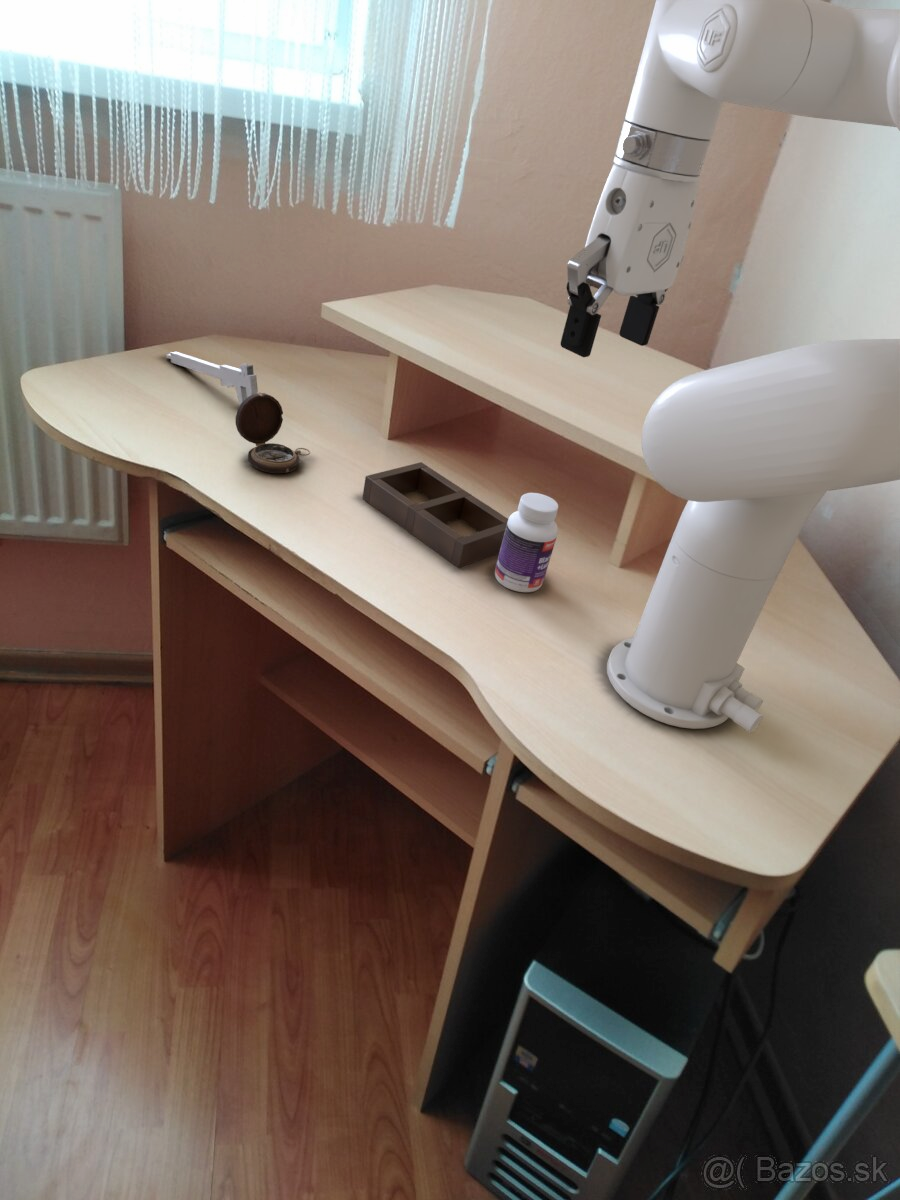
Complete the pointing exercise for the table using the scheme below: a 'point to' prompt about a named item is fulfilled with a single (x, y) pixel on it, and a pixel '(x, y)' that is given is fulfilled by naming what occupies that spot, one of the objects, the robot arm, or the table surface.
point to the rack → (437, 512)
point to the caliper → (221, 373)
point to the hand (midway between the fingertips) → (604, 346)
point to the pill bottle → (528, 543)
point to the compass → (265, 434)
